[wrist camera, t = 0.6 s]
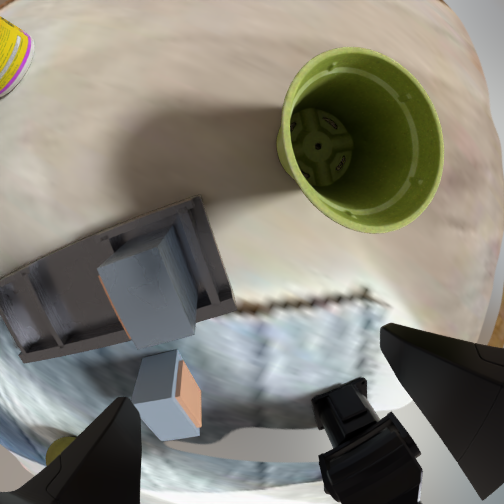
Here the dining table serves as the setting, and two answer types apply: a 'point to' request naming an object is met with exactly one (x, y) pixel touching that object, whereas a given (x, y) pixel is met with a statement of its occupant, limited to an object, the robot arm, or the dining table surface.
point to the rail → (80, 297)
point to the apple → (58, 448)
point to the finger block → (168, 397)
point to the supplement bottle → (13, 55)
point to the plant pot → (362, 140)
